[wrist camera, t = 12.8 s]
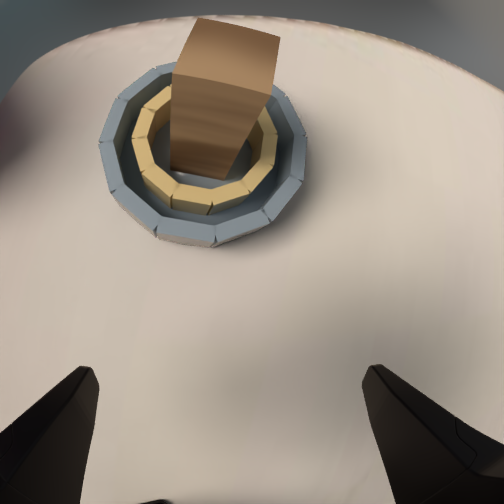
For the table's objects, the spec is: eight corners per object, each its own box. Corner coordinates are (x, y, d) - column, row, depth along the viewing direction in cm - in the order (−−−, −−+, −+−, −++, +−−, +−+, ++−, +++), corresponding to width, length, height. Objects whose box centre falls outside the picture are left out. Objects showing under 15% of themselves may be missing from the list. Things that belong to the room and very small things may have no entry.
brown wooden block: (223, 180, 21) (271, 95, 10) (170, 170, 20) (172, 73, 9) (232, 134, 21) (280, 37, 11) (183, 124, 20) (198, 17, 10)
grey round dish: (142, 274, 19) (135, 273, 16) (97, 112, 19) (88, 87, 16) (312, 211, 23) (335, 200, 20) (250, 73, 23) (261, 49, 20)
